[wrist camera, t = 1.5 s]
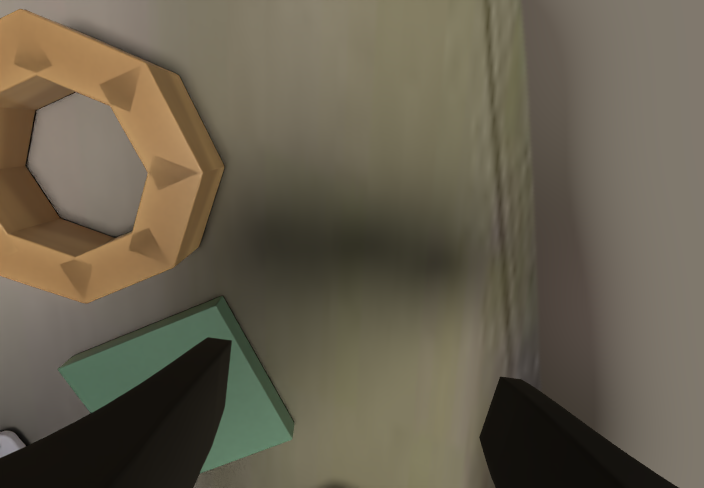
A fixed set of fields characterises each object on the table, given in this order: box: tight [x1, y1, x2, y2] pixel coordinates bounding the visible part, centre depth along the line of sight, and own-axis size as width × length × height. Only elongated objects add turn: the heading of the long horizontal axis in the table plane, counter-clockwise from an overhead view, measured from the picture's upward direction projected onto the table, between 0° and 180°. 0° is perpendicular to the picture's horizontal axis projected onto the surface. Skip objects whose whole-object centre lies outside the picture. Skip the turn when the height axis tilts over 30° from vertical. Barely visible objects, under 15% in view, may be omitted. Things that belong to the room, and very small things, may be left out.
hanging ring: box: [0, 9, 224, 304], centre depth 16 cm, size 10×10×3 cm
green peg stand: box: [58, 296, 294, 473], centre depth 18 cm, size 9×9×7 cm
